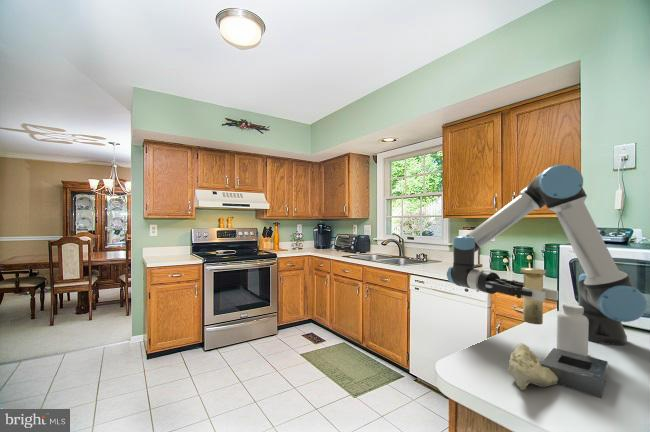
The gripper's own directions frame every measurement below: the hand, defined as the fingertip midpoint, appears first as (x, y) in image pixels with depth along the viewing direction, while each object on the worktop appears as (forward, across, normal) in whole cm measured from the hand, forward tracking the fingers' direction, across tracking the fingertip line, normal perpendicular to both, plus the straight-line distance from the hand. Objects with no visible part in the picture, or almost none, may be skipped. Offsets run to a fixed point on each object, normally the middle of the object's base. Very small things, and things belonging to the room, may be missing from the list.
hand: (550, 296), depth 91 cm
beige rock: (+7, +19, -20) cm, 28 cm away
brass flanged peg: (-5, 0, -9) cm, 10 cm away
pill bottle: (-4, -17, -20) cm, 27 cm away
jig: (+7, +1, -20) cm, 21 cm away
